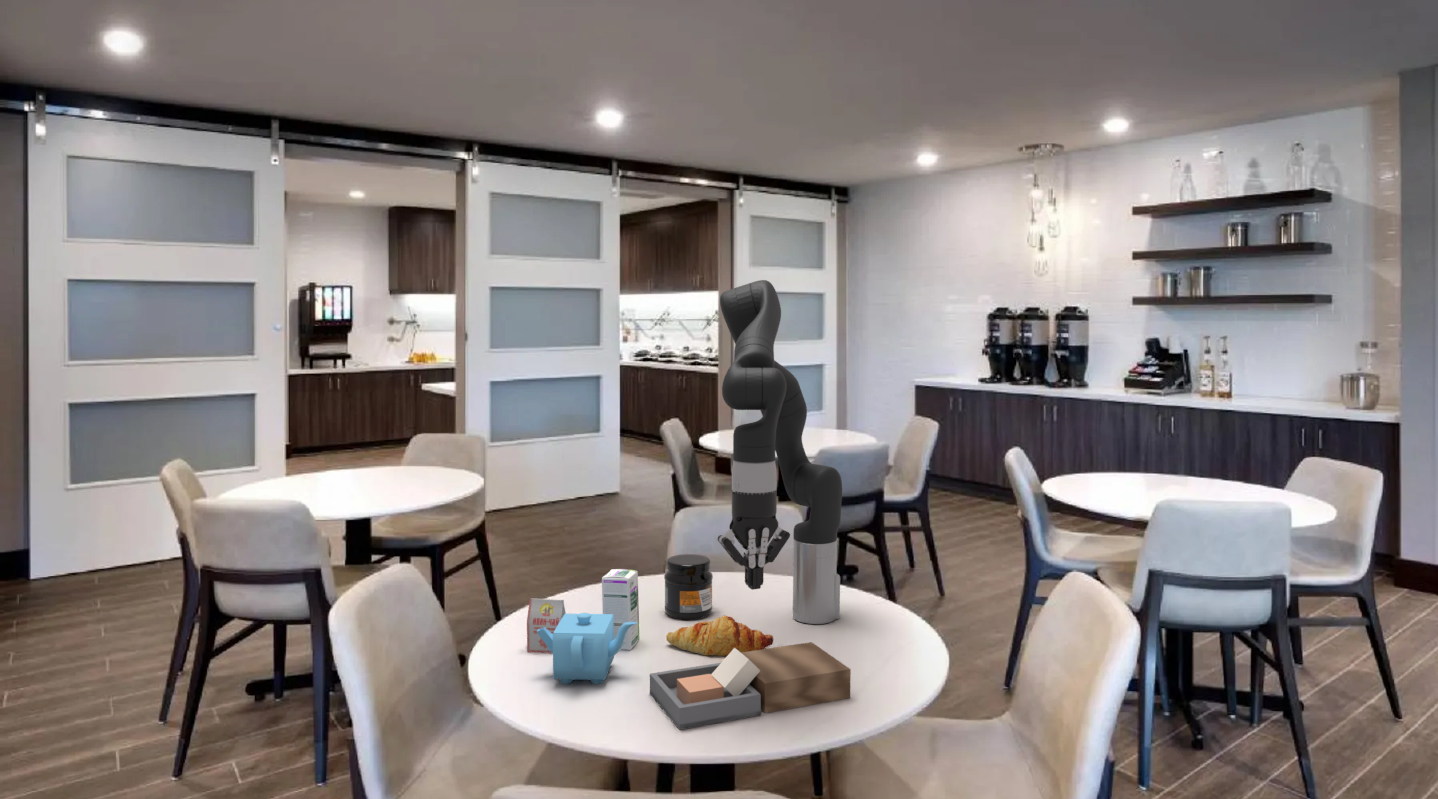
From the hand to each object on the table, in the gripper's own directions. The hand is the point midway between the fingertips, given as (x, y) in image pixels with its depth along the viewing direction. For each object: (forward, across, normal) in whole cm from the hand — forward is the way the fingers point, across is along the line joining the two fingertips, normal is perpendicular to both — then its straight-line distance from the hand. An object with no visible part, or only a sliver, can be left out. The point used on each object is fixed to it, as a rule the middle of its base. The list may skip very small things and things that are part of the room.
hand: (753, 587), depth 154 cm
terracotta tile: (+15, +10, 0) cm, 18 cm away
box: (+19, +9, 0) cm, 21 cm away
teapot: (+19, +24, -19) cm, 36 cm away
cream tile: (+15, +3, +1) cm, 15 cm away
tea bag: (+19, +28, -35) cm, 49 cm away
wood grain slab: (+19, -7, 0) cm, 20 cm away
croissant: (+19, -3, -23) cm, 30 cm away
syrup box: (+19, +14, -32) cm, 40 cm away
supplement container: (+19, -5, -45) cm, 49 cm away
